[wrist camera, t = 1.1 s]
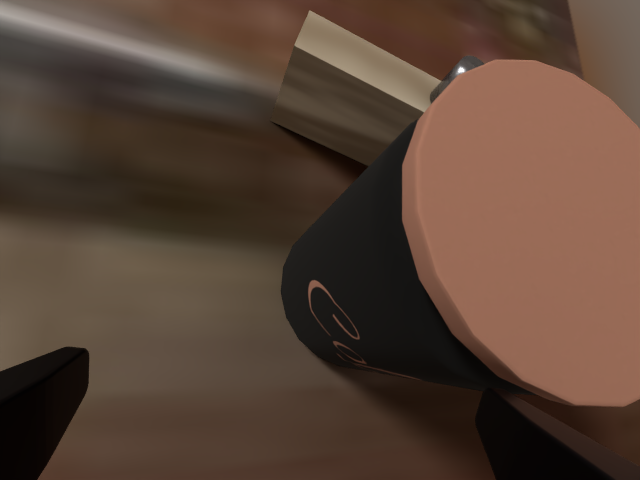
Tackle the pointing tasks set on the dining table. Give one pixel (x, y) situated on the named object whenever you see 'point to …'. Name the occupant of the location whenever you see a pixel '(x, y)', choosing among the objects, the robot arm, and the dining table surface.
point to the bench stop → (353, 91)
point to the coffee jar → (487, 245)
